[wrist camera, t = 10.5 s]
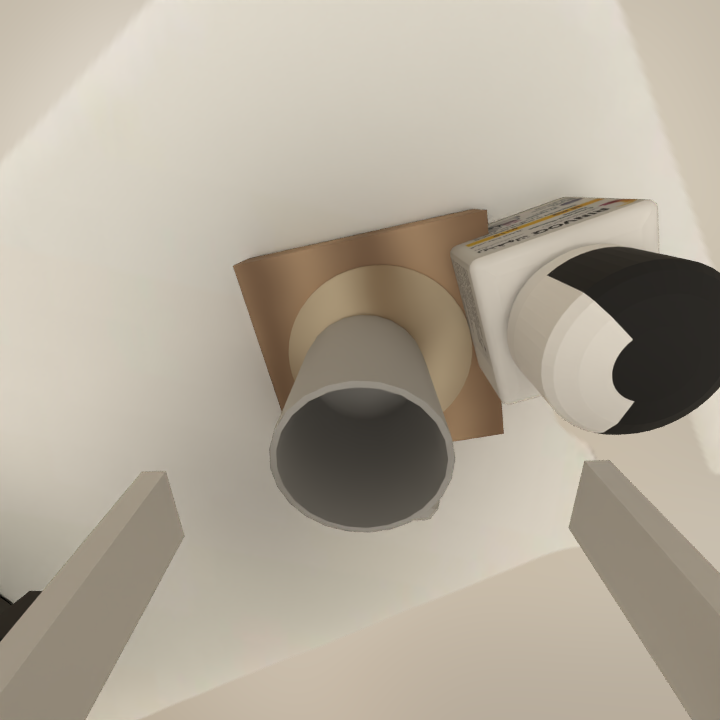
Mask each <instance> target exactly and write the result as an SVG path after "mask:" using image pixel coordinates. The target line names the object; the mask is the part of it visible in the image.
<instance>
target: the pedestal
mask: <svg viewBox="0 0 720 720" xmlns="http://www.w3.org/2000/svg"><path fill="white" fill-rule="evenodd" d="M487 234H489V233H488V219H487V210H478V209H471V210H466V211H462V212H457V213H453V214H448V215H444V216H439V217H435V218H430V219H426V220H421V221H416V222H412V223H407V224H403V225H398V226H394V227H389V228H385V229H380V230H376V231H371V232H367V233H362V234H358V235H353V236H349V237H344V238H340V239H335V240H331V241H326V242H322V243H317V244H313V245H308V246H304V247H299V248H294V249H290V250H285V251H281V252H276V253H272V254H267V255H263V256H258V257H254V258H249V259H247V260H245V261H243V262H240V263H238V264H236V265H234V266H233V267H234V270H235V273H236V276H237V279H238V282H239V285H240V288H241V291H242V294H243V297H244V300H245V303H246V306H247V309H248V312H249V315H250V318H251V321H252V324H253V327H254V330H255V333H256V336H257V339H258V342H259V345H260V348H261V351H262V354H263V357H264V360H265V363H266V366H267V369H268V372H269V375H270V378H271V381H272V384H273V387H274V390H275V393H276V396H277V399H278V402H279V405H280V408H281V411H283V408H284V406H285V403H286V401H287V399H288V396H289V394H290V392H291V389H292V387H293V385H294V382H295V380H296V378H297V375H298V373H299V370H300V368H301V366H302V363H303V361H304V359H305V356H306V354H307V352H308V350H309V349H310V347H311V346H312V344H313V342H314V341H315V339H316V338H317V336H318V335H319V334H320V333H321V332H322V331H324V330H325V329H326V328H327V327H328V326H329V325H331V324H333V323H335V322H337V321H339V320H341V319H343V318H347V317H352V316H357V315H371V316H378V317H381V318H385V319H388V320H391V321H393V322H394V323H396V324H398V325H399V326H401V327H402V328H404V329H405V330H406V331H407V332H408V333H409V334H410V335H411V336H412V337H413V339H414V340H415V341H416V343H417V344H418V346H419V348H420V351H421V353H422V355H423V357H424V359H425V362H426V365H427V368H428V370H429V373H430V376H431V379H432V382H433V385H434V388H435V391H436V394H437V396H438V399H439V402H440V405H441V408H442V411H443V414H444V417H445V420H446V423H447V425H448V428H449V431H450V434H451V437H452V441H460V440H466V439H472V438H479V437H485V436H491V435H498V434H504V430H503V417H502V404H501V399H500V398H499V396H498V395H497V393H496V392H495V390H494V388H493V387H492V385H491V384H490V382H489V381H488V379H487V378H486V376H485V374H484V373H483V371H482V370H481V368H480V367H479V364H478V360H477V356H476V352H475V349H474V345H473V341H472V337H471V333H470V329H469V326H468V322H467V318H466V314H465V310H464V306H463V302H462V299H461V295H460V291H459V287H458V283H457V279H456V276H455V272H454V268H453V264H452V260H451V256H450V251H451V249H452V248H453V247H455V246H456V245H459V244H462V243H465V242H467V241H470V240H473V239H476V238H479V237H481V236H484V235H487Z"/></svg>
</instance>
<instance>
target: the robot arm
mask: <svg viewBox="0 0 720 720" xmlns="http://www.w3.org/2000/svg"><path fill="white" fill-rule="evenodd" d="M569 529H570V531H571V532H572V534H573V536H574V537H575V539H576V540H577V542H578V543H579V545H580V546H581V548H582V549H583V551H584V553H585V554H586V556H587V557H588V559H589V560H590V562H591V564H592V565H593V567H594V568H595V570H596V571H597V573H598V574H599V576H600V578H601V579H602V581H603V582H604V584H605V585H606V587H607V588H608V590H609V592H610V593H611V595H612V596H613V598H614V599H615V601H616V602H617V604H618V606H619V607H620V609H621V610H622V612H623V613H624V615H625V616H626V618H627V620H628V621H629V623H630V624H631V626H632V627H633V629H634V631H635V632H636V634H637V635H638V637H639V638H640V639H641V641H642V643H643V644H644V646H645V647H646V649H647V651H648V652H649V654H650V655H651V657H652V658H653V660H654V662H655V663H656V665H657V666H658V668H659V669H660V671H661V672H662V674H663V676H664V677H665V679H666V680H667V682H668V683H669V685H670V686H671V688H672V690H673V691H674V693H675V694H676V696H677V697H678V699H679V700H680V702H681V704H682V705H683V707H684V708H685V710H686V711H687V713H688V714H689V716H690V717H691V719H692V720H720V573H719V572H718V571H717V570H716V569H715V568H714V567H713V566H712V565H711V564H710V563H709V562H708V561H707V560H706V559H705V558H704V557H703V556H702V555H701V554H700V552H699V551H698V550H697V549H696V548H695V547H694V546H693V545H692V544H691V543H690V542H689V541H688V540H687V539H686V538H685V537H684V536H683V535H682V534H681V533H680V532H679V531H678V530H677V529H676V528H675V527H674V526H673V525H672V524H671V523H670V522H669V521H668V520H667V519H666V518H665V517H664V516H663V515H662V514H661V513H660V512H659V511H658V509H657V508H656V507H655V506H654V505H653V504H652V503H651V502H650V501H649V500H648V499H647V498H646V497H645V496H644V495H643V494H642V493H641V492H640V491H639V490H638V489H637V488H636V487H635V486H634V485H633V484H632V483H631V482H630V481H629V480H628V479H627V478H626V477H625V476H624V475H623V474H622V473H621V472H620V470H618V468H617V467H616V466H615V465H614V464H613V463H612V462H611V461H610V460H599V461H584V465H583V469H582V473H581V478H580V482H579V486H578V490H577V495H576V499H575V503H574V507H573V511H572V516H571V520H570V524H569ZM183 538H184V533H183V530H182V526H181V523H180V519H179V516H178V512H177V509H176V505H175V502H174V498H173V495H172V491H171V488H170V484H169V481H168V477H167V474H166V471H155V472H141V473H140V475H139V476H138V477H137V478H136V479H135V481H134V482H133V483H132V484H131V485H130V487H129V488H128V489H127V490H126V491H125V493H124V494H123V495H122V496H121V497H120V499H119V500H118V501H117V502H116V503H115V505H114V506H113V507H112V508H111V509H110V511H109V512H108V513H107V514H106V515H105V517H104V518H103V519H102V520H101V521H100V523H99V524H98V525H97V526H96V527H95V529H94V530H93V531H92V532H91V534H90V535H89V536H88V537H87V538H86V540H85V541H84V542H83V543H82V544H81V546H80V547H79V548H78V549H77V550H76V552H75V553H74V554H73V555H72V556H71V558H70V559H69V560H68V561H67V562H66V564H65V565H64V566H63V567H62V568H61V570H60V571H59V572H58V573H57V574H56V576H55V577H54V578H53V579H52V580H51V582H50V583H49V584H48V585H47V586H46V588H45V589H44V590H43V591H29V592H28V593H27V594H25V595H24V596H23V597H22V598H20V599H19V600H18V601H16V602H15V603H14V604H13V605H10V604H9V603H7V602H6V601H5V600H3V599H2V598H0V720H85V719H86V718H87V716H88V714H89V712H90V710H91V708H92V707H93V705H94V703H95V701H96V699H97V697H98V695H99V694H100V692H101V690H102V688H103V686H104V684H105V682H106V681H107V679H108V677H109V675H110V673H111V671H112V669H113V668H114V666H115V664H116V662H117V660H118V658H119V657H120V655H121V653H122V651H123V649H124V647H125V645H126V644H127V642H128V640H129V638H130V636H131V634H132V632H133V631H134V629H135V627H136V625H137V623H138V621H139V619H140V618H141V616H142V614H143V612H144V610H145V608H146V606H147V605H148V603H149V601H150V599H151V597H152V595H153V594H154V592H155V590H156V588H157V586H158V584H159V582H160V581H161V579H162V577H163V575H164V573H165V571H166V569H167V568H168V566H169V564H170V562H171V560H172V558H173V556H174V555H175V553H176V551H177V549H178V547H179V545H180V544H181V542H182V540H183Z"/></svg>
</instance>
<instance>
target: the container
mask: <svg viewBox="0 0 720 720" xmlns="http://www.w3.org/2000/svg"><path fill="white" fill-rule="evenodd" d="M488 233H489V234H487V235H484V236H481V237H479V238H476V239H473V240H470V241H467V242H465V243H462V244H459V245H456V246H455V247H453V248H452V249H451V251H450V256H451V260H452V264H453V268H454V272H455V276H456V279H457V283H458V287H459V291H460V295H461V299H462V302H463V306H464V310H465V314H466V318H467V322H468V326H469V329H470V333H471V337H472V341H473V345H474V349H475V352H476V356H477V360H478V364H479V367H480V368H481V370H482V371H483V373H484V374H485V376H486V378H487V379H488V381H489V382H490V384H491V385H492V387H493V388H494V390H495V392H496V393H497V395H498V396H499V398H500V399H501V401H502V402H503V403H505V404H514V403H517V402H521V401H524V400H528V399H531V398H535V397H538V396H543V397H544V399H545V400H546V401H547V402H548V403H549V404H550V406H551V407H552V408H553V409H554V410H555V411H556V413H557V414H558V415H560V416H561V417H562V418H563V419H564V420H565V421H567V422H569V423H570V424H572V425H573V426H576V427H578V428H580V429H583V430H586V431H589V432H593V433H599V434H609V435H610V434H612V435H619V434H620V435H621V434H632V433H640V432H645V431H650V430H653V429H656V428H660V427H663V426H665V425H667V424H670V423H672V422H674V421H676V420H678V419H680V418H682V417H684V416H686V415H687V414H689V413H690V412H692V411H693V410H695V409H696V408H698V407H699V406H700V405H701V404H703V403H704V402H705V401H706V400H708V399H709V398H710V397H711V396H712V395H713V394H714V393H715V392H716V391H717V390H718V388H719V387H720V273H719V272H718V271H716V270H715V269H713V268H711V267H709V266H707V265H704V264H702V263H699V262H695V261H691V260H687V259H682V258H677V257H673V256H668V255H663V254H659V227H658V206H657V203H655V202H653V201H652V200H645V199H614V198H582V197H563V198H560V199H557V200H555V201H552V202H549V203H546V204H544V205H541V206H538V207H535V208H533V209H530V210H527V211H524V212H521V213H519V214H516V215H513V216H510V217H508V218H505V219H502V220H499V221H497V222H494V223H491V224H488Z"/></svg>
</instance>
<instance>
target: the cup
mask: <svg viewBox="0 0 720 720" xmlns="http://www.w3.org/2000/svg"><path fill="white" fill-rule="evenodd" d="M269 451H270V468H271V471H272V474H273V476H274V479H275V481H276V484H277V487H278V488H279V490H280V491H281V492H282V493H283V495H284V496H285V497H286V499H287V500H288V501H289V503H290V504H291V505H293V506H294V507H295V508H296V509H298V510H299V511H300V512H301V513H303V514H304V515H305V516H307V517H309V518H311V519H313V520H315V521H317V522H319V523H321V524H323V525H325V526H328V527H332V528H336V529H340V530H344V531H353V532H375V531H382V530H389V529H392V528H395V527H398V526H401V525H404V524H406V523H409V522H411V521H413V520H427V519H431V517H432V516H433V515H434V513H435V512H436V511H437V510H438V507H439V499H440V498H441V497H442V496H443V494H444V492H445V490H446V488H447V486H448V484H449V482H450V480H451V479H452V473H453V468H454V462H455V455H454V448H453V441H452V437H451V434H450V431H449V428H448V425H447V423H446V420H445V417H444V414H443V411H442V408H441V405H440V402H439V399H438V396H437V394H436V391H435V388H434V385H433V382H432V379H431V376H430V373H429V370H428V368H427V365H426V362H425V359H424V357H423V355H422V353H421V351H420V348H419V346H418V344H417V343H416V341H415V340H414V339H413V337H412V336H411V335H410V334H409V333H408V332H407V331H406V330H405V329H404V328H402V327H401V326H399V325H398V324H396V323H394V322H393V321H391V320H388V319H385V318H381V317H378V316H371V315H357V316H352V317H347V318H343V319H341V320H339V321H337V322H335V323H333V324H331V325H329V326H328V327H327V328H326V329H325V330H324V331H322V332H321V333H320V334H319V335H318V336H317V338H316V339H315V341H314V342H313V344H312V346H311V347H310V349H309V350H308V352H307V354H306V356H305V359H304V361H303V363H302V366H301V368H300V370H299V373H298V375H297V378H296V380H295V382H294V385H293V387H292V389H291V392H290V394H289V396H288V399H287V401H286V403H285V406H284V408H283V411H282V413H281V415H280V418H279V420H278V422H277V425H276V427H275V430H274V433H273V437H272V441H271V445H270V449H269Z"/></svg>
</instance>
